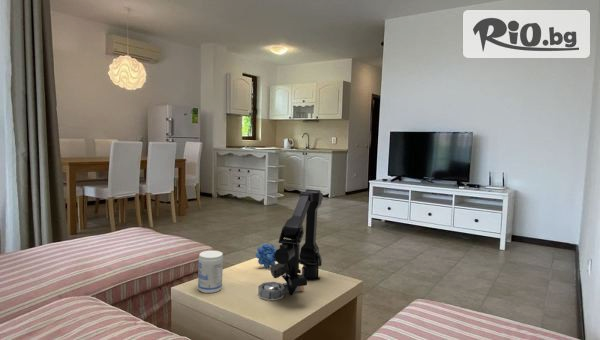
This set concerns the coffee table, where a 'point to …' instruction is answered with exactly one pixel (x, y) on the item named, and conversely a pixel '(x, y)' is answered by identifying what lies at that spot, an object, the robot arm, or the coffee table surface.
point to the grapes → (266, 255)
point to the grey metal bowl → (271, 288)
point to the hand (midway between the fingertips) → (290, 295)
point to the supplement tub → (210, 271)
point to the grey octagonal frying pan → (275, 293)
